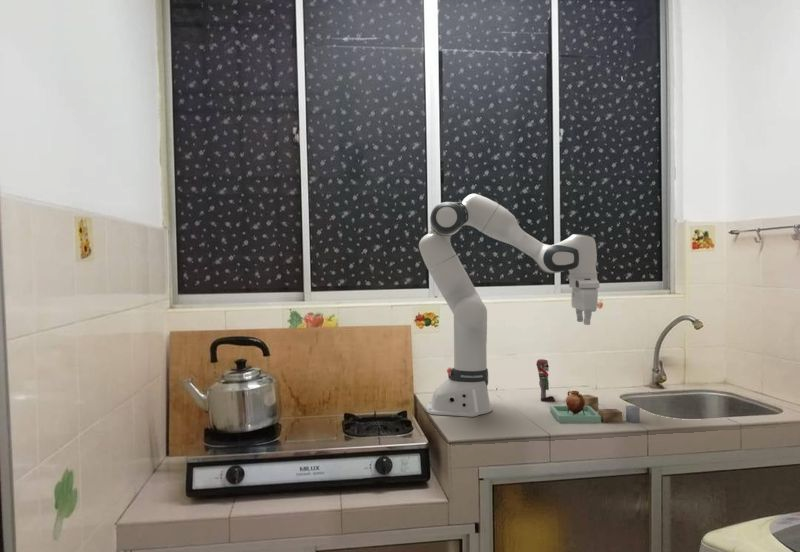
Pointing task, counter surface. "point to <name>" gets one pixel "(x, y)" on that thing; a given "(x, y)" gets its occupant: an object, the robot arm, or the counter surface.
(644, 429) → the counter surface
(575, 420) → the tray
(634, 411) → the blue-grey cube
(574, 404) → the pot
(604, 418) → the walnut block
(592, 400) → the oak cube
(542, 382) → the toy
